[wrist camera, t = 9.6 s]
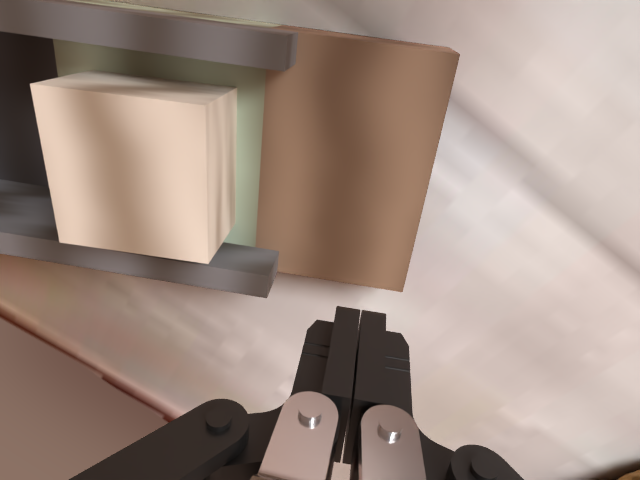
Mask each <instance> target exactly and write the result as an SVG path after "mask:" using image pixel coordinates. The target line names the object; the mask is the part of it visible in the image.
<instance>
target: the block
mask: <svg viewBox="0 0 640 480" xmlns="http://www.w3.org/2000/svg"><path fill="white" fill-rule="evenodd" d="M30 88H31V93H32V98H33V104H34V109H35V114H36V120H37V125H38V130H39V136H40V141H41V146H42V152H43V157H44V162H45V168H46V173H47V178H48V184H49V189H50V194H51V200H52V205H53V210H54V215H55V221H56V226H57V231H58V237H59V242H60V243H67V244H74V245H81V246H88V247H94V248H101V249H108V250H115V251H122V252H129V253H136V254H143V255H150V256H157V257H164V258H170V259H177V260H184V261H191V262H198V263H205V264H209V262H210V261H211V259H212V258H213V256H214V255H215V253H216V252H217V250H218V249H219V247H220V246H221V244H222V243H223V241H224V240H225V238H226V237H227V235H228V234H229V232H230V231H231V229H232V228H233V226H234V225H235V223H236V140H237V87H230V86H222V85H214V84H205V83H197V82H189V81H180V80H172V79H164V78H156V77H147V76H139V75H131V74H122V73H114V72H106V71H98V70H89V71H85V72H80V73H76V74H71V75H67V76H62V77H58V78H54V79H49V80H45V81H40V82H36V83H31V84H30Z"/></svg>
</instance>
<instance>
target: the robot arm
mask: <svg viewBox="0 0 640 480" xmlns="http://www.w3.org/2000/svg"><path fill="white" fill-rule="evenodd" d="M359 317H360V310H358V309H352V308H346V307H340V306H337V308H336V313H335V319H334V322H328V321H322V320H316V321H315V322H314V323H313V324H312V326H311V327H310V328H309V329H308V330H307V334H306V338H305V342H304V346H303V350H302V354H301V358H300V361H299V365H298V369H297V373H296V377H295V381H294V385H293V389H292V393H291V395H290V397H289V398H288V399H287V400H286V402H285V403H284V404H283V405H282V406H280V407H278V408H277V409H274V410H272V411H268V412H263V413H253V414H247V412H246V410H245V409H244V408H243V407H242V406H241V405H240V404H239V403H237V402H235V401H232V400H228V399H215V400H211V401H208V402H205V403H203V404H201V405H200V406H198V407H196V408H194V409H193V410H191V411H189V412H187V413H186V414H184V415H182V416H180V417H179V418H177V419H175V420H173V421H171V422H170V423H168V424H166V425H165V426H163V427H161V428H159V429H157V430H156V431H154V432H152V433H150V434H148V435H147V436H145V437H143V438H141V439H140V440H138V441H136V442H134V443H133V444H131V445H129V446H127V447H126V448H124V449H122V450H120V451H119V452H117V453H115V454H113V455H111V456H110V457H108V458H106V459H104V460H103V461H101V462H99V463H97V464H96V465H94V466H92V467H90V468H89V469H87V470H85V471H83V472H81V473H80V474H78V475H76V476H74V477H73V478H71V479H69V480H331V475H332V470H333V464H334V462H339V463H340V460H341V454H342V449H343V443H344V438H345V444H344V454H343V463H345V464H351V470H350V480H524V479H523V478H522V477H521V476H520V475H519V474H518V473H517V472H516V471H515V470H514V469H513V468H512V467H511V466H510V465H509V464H508V463H507V462H506V461H505V460H504V459H503V458H502V457H500V456H499V455H498V454H497V453H495V452H494V451H492V450H490V449H488V448H486V447H483V446H479V445H465V446H462V447H460V448H458V449H457V450H456V451H455V452H454V451H452V450H450V449H448V448H445V447H443V446H441V445H439V444H437V443H435V442H433V441H432V440H430V439H429V438H428V437H426V436H425V435H424V434H423V433H422V432H421V431H420V429H419V428H418V426H417V424H416V422H415V421H414V418H413V414H412V397H411V378H410V362H409V346H408V344H407V342H406V341H405V339H404V337H403V336H402V334H401V333H396V332H390V331H386V314H384V313H378V312H371V311H365V310H362V312H361V318H360V324H359ZM358 327H359V329H358ZM345 432H346V435H345Z"/></svg>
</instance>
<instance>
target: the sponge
mask: <svg viewBox="0 0 640 480" xmlns="http://www.w3.org/2000/svg"><path fill="white" fill-rule="evenodd" d="M617 480H640V469H639V470H637V471H635V472H631V473H627V474H625V475H623V476H621V477H620V478H619V479H617Z"/></svg>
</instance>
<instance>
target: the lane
mask: <svg viewBox="0 0 640 480" xmlns="http://www.w3.org/2000/svg"><path fill="white" fill-rule="evenodd" d="M459 56H460V54H459V53H457V52H455V51H454V50H452V49H451V48H448V47H441V46H433V45H426V44H419V43H412V42H404V41H397V40H390V39H382V38H375V37H368V36H360V35H353V34H346V33H338V32H331V31H324V30H317V29H309V28H302V27H295V26H287V25H280V24H273V23H265V22H258V21H251V20H244V19H236V18H229V17H222V16H214V15H207V14H200V13H192V12H185V11H178V10H170V9H163V8H156V7H149V6H141V5H134V4H127V3H119V2H112V1H105V0H0V254H6V255H12V256H18V257H24V258H30V259H36V260H42V261H48V262H54V263H60V264H66V265H72V266H78V267H84V268H90V269H96V270H102V271H108V272H114V273H120V274H126V275H132V276H138V277H144V278H150V279H156V280H162V281H168V282H174V283H180V284H186V285H191V286H197V287H203V288H209V289H215V290H221V291H227V292H233V293H239V294H245V295H251V296H257V297H263V298H267V297H268V294H269V291H270V289H271V286H272V284H273V281H274V279H275V276H276V273H277V272H283V273H289V274H295V275H301V276H307V277H313V278H319V279H325V280H332V281H338V282H344V283H350V284H356V285H362V286H368V287H374V288H380V289H386V290H393V291H399V292H403V288H404V284H405V280H406V276H407V271H408V267H409V263H410V259H411V255H412V251H413V247H414V242H415V238H416V234H417V230H418V226H419V222H420V218H421V213H422V209H423V205H424V201H425V197H426V193H427V189H428V185H429V180H430V176H431V172H432V168H433V164H434V160H435V156H436V151H437V147H438V143H439V139H440V135H441V131H442V127H443V122H444V118H445V114H446V110H447V106H448V102H449V98H450V94H451V89H452V85H453V81H454V77H455V73H456V69H457V65H458V60H459ZM89 70H98V71H106V72H114V73H122V74H131V75H139V76H147V77H156V78H164V79H172V80H180V81H189V82H197V83H205V84H214V85H222V86H230V87H237V140H236V223H235V225H234V226H233V228H232V229H231V231H230V232H229V234H228V235H227V237H226V238H225V240H224V241H223V243H222V244H221V246H220V247H219V249H218V250H217V252H216V253H215V255H214V256H213V258H212V259H211V261H210V262H209V264H205V263H198V262H191V261H184V260H177V259H170V258H164V257H157V256H150V255H143V254H136V253H129V252H122V251H115V250H108V249H101V248H94V247H88V246H81V245H74V244H67V243H60V242H59V237H58V231H57V226H56V221H55V215H54V210H53V205H52V200H51V194H50V189H49V184H48V178H47V173H46V168H45V162H44V157H43V152H42V146H41V141H40V136H39V130H38V125H37V120H36V114H35V109H34V104H33V98H32V93H31V88H30V84H31V83H36V82H40V81H45V80H49V79H54V78H58V77H62V76H67V75H71V74H76V73H80V72H85V71H89Z"/></svg>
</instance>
